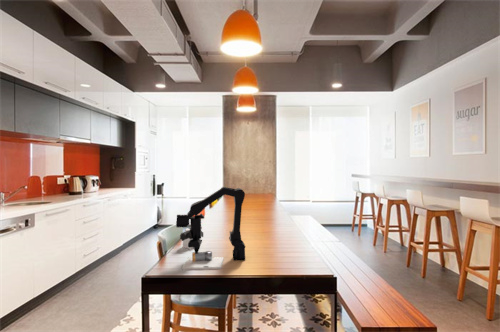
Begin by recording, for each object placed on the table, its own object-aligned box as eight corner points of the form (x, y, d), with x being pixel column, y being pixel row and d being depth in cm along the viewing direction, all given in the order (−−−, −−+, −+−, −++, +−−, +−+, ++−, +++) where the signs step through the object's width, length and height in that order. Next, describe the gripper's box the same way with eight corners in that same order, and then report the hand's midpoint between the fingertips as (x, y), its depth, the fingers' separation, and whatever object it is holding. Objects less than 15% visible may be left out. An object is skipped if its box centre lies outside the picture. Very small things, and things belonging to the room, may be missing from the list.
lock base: (223, 258, 160) (223, 256, 160) (221, 268, 146) (221, 266, 146) (188, 259, 160) (188, 257, 160) (182, 269, 146) (182, 267, 146)
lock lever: (212, 257, 158) (211, 250, 158) (212, 260, 154) (211, 253, 154) (192, 259, 157) (192, 252, 157) (192, 261, 153) (192, 254, 153)
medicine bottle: (191, 244, 187) (190, 226, 186) (198, 246, 182) (198, 228, 182) (182, 247, 181) (182, 228, 181) (189, 249, 177) (189, 230, 176)
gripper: (183, 222, 164) (184, 248, 165) (177, 232, 146) (178, 261, 147) (203, 221, 165) (203, 247, 166) (199, 231, 146) (200, 260, 148)
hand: (196, 254), depth 157 cm, fingers closed
